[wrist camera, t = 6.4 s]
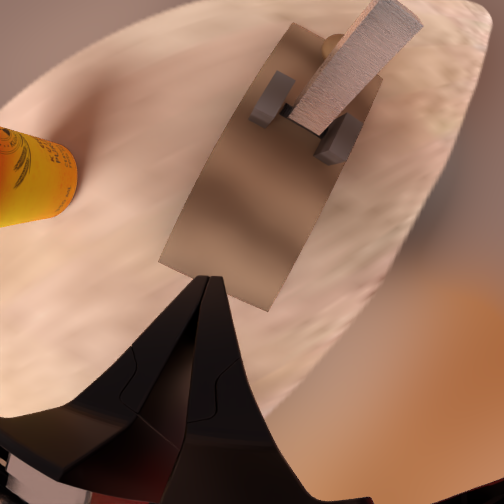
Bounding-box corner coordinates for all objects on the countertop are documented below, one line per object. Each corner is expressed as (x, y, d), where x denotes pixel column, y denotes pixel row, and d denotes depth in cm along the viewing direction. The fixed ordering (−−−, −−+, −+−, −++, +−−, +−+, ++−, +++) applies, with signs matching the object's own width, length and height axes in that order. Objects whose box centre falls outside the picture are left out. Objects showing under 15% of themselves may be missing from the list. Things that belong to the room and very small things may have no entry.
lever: (317, 147, 19) (431, 32, 9) (275, 122, 18) (375, -11, 8) (323, 127, 20) (423, 21, 10) (283, 104, 19) (373, -16, 9)
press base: (264, 304, 24) (277, 330, 19) (161, 257, 22) (149, 273, 17) (374, 83, 21) (403, 66, 17) (288, 30, 19) (304, 1, 15)
